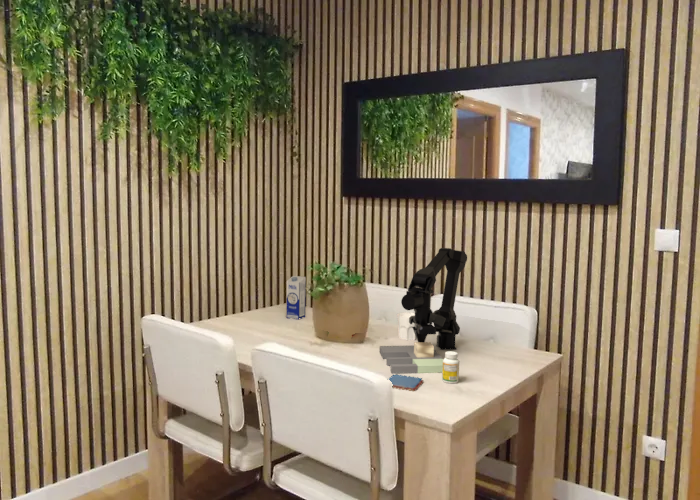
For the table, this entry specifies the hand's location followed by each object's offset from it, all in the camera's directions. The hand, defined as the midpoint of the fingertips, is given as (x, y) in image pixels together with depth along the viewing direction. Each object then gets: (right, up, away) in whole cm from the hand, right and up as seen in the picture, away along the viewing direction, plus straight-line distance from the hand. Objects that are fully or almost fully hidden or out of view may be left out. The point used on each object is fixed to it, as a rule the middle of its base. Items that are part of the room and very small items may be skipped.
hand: (421, 347), depth 216 cm
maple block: (0, -2, -4) cm, 5 cm away
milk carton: (-53, +3, +65) cm, 84 cm away
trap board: (-4, -5, -4) cm, 8 cm away
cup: (-2, -1, +30) cm, 30 cm away
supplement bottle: (+6, -7, -25) cm, 27 cm away
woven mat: (-9, -8, -29) cm, 31 cm away
